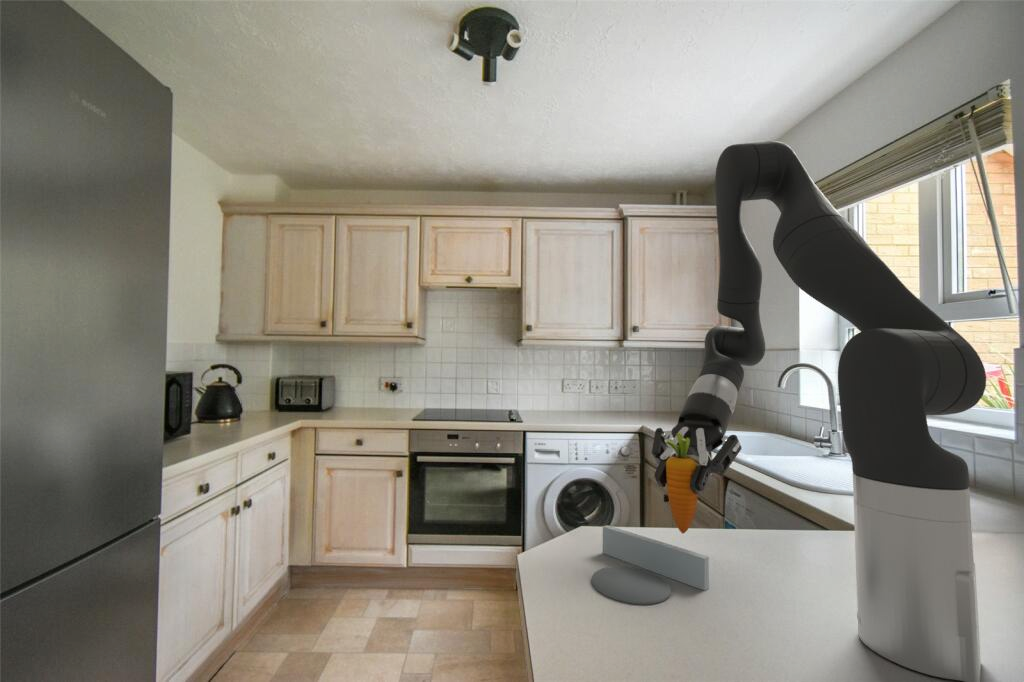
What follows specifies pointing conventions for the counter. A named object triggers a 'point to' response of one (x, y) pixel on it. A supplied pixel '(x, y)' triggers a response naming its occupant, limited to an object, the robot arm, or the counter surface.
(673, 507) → the carrot
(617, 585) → the rest mat
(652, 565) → the low wall
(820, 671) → the counter surface
